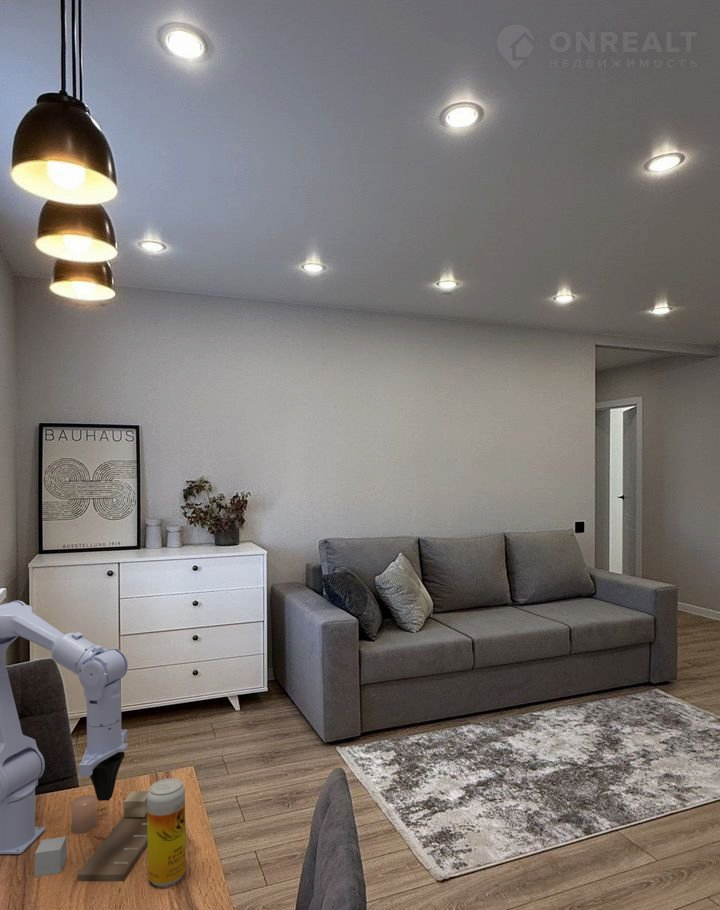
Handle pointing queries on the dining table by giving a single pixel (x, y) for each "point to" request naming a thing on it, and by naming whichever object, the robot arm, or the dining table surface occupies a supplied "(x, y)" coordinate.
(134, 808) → the birch slider
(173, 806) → the beer can
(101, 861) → the board
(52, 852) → the grey cube
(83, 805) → the terracotta cylinder
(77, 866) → the dining table surface
